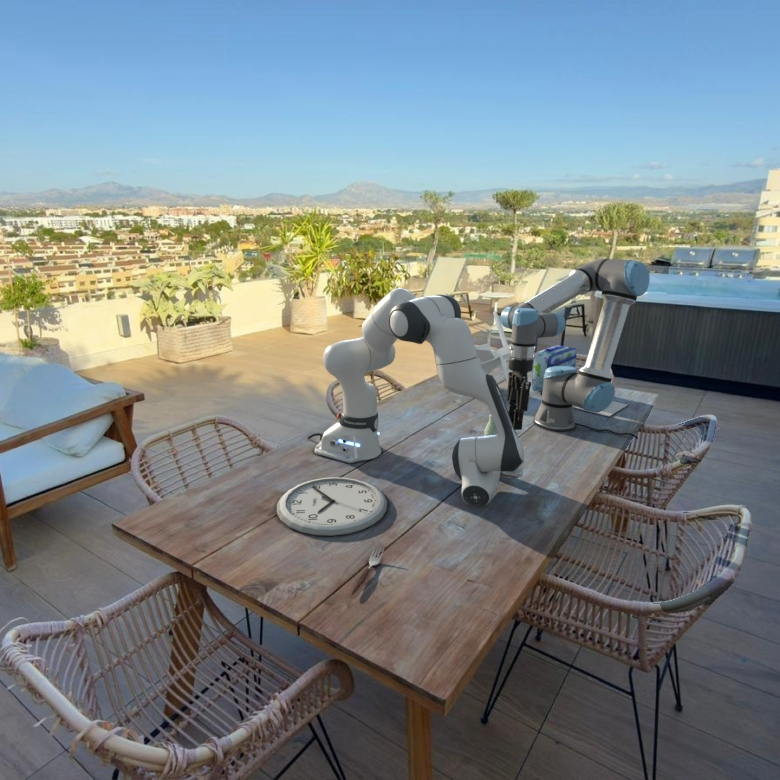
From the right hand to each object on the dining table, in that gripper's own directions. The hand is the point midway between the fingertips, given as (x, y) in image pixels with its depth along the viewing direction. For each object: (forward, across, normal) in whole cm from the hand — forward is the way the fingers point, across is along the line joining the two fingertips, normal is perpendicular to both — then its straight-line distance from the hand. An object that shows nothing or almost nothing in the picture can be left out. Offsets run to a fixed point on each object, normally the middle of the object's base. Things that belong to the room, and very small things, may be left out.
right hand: (514, 426), depth 173 cm
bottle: (+11, +11, -11) cm, 19 cm away
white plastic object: (+10, -70, +11) cm, 71 cm away
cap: (-1, 0, 0) cm, 1 cm away
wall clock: (+11, +26, -61) cm, 67 cm away
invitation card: (+10, -45, +58) cm, 74 cm away
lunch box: (+10, -70, +47) cm, 84 cm away
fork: (+12, +56, -55) cm, 79 cm away
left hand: (+5, +10, -11) cm, 16 cm away
